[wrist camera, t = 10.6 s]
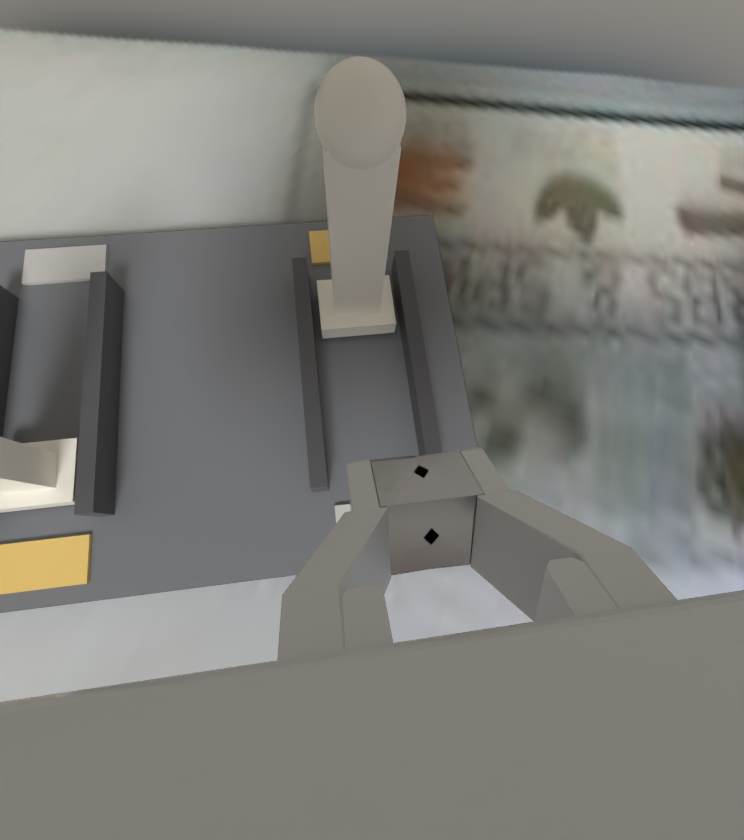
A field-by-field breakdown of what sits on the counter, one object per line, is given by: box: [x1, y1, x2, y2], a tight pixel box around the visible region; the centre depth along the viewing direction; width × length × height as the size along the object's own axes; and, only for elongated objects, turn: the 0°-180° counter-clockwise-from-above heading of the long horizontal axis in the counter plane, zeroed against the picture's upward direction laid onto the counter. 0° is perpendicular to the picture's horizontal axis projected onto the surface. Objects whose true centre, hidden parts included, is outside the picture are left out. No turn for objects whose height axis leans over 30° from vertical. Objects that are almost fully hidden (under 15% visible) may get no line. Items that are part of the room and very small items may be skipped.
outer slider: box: [314, 56, 407, 339], centre depth 18 cm, size 4×3×13 cm
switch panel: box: [0, 215, 477, 613], centre depth 22 cm, size 27×20×3 cm
